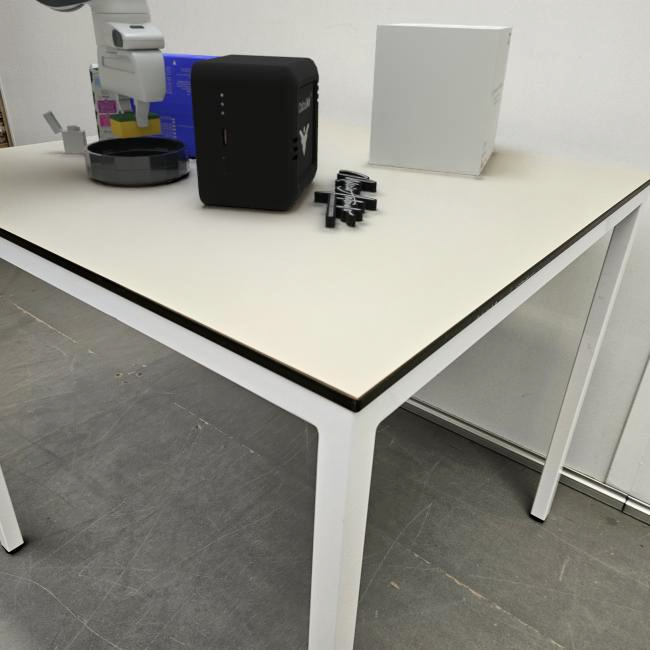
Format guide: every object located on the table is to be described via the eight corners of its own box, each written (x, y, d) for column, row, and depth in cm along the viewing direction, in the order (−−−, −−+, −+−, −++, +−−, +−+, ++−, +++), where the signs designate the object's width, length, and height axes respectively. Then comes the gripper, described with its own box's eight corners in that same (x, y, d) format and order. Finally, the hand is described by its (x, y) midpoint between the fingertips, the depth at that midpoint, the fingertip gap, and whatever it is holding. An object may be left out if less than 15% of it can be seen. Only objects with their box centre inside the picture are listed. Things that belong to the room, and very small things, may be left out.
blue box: (287, 161, 118) (286, 59, 110) (264, 170, 112) (261, 62, 103) (136, 139, 134) (125, 48, 125) (108, 145, 127) (95, 50, 119)
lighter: (88, 151, 122) (82, 110, 118) (86, 153, 120) (79, 111, 116) (52, 151, 121) (44, 110, 117) (49, 153, 119) (41, 111, 116)
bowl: (109, 193, 96) (104, 161, 94) (75, 171, 108) (70, 142, 106) (206, 179, 105) (204, 149, 103) (165, 159, 117) (162, 133, 115)
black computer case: (293, 216, 88) (294, 67, 78) (198, 208, 90) (188, 62, 81) (319, 181, 105) (322, 57, 96) (239, 175, 108) (234, 53, 98)
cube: (478, 175, 112) (500, 29, 101) (368, 163, 118) (376, 24, 107) (493, 150, 133) (512, 26, 122) (399, 141, 139) (408, 23, 128)
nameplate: (319, 169, 107) (375, 170, 107) (318, 177, 108) (374, 179, 108) (309, 216, 83) (382, 218, 83) (309, 226, 84) (381, 229, 83)
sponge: (121, 138, 100) (119, 118, 98) (111, 134, 103) (109, 114, 102) (161, 134, 104) (159, 114, 102) (150, 130, 107) (148, 111, 105)
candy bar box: (128, 160, 116) (117, 68, 109) (101, 161, 115) (87, 68, 107) (126, 148, 126) (115, 62, 118) (101, 149, 124) (88, 62, 116)
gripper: (82, 31, 102) (96, 116, 108) (128, 37, 87) (140, 135, 94) (119, 30, 105) (130, 113, 111) (169, 36, 91) (178, 131, 97)
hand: (135, 123), depth 103 cm, fingers closed on sponge, 4 cm apart
